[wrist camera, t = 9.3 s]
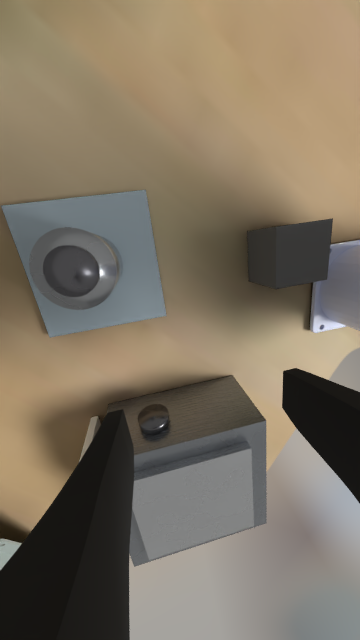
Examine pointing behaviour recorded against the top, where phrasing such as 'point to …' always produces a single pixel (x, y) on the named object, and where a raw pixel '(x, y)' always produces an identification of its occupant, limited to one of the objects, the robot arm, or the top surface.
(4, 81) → the top surface
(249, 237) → the rubber block
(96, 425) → the label tile
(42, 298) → the pad
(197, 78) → the top surface
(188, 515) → the box
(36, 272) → the cylinder
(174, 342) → the top surface
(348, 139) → the top surface
